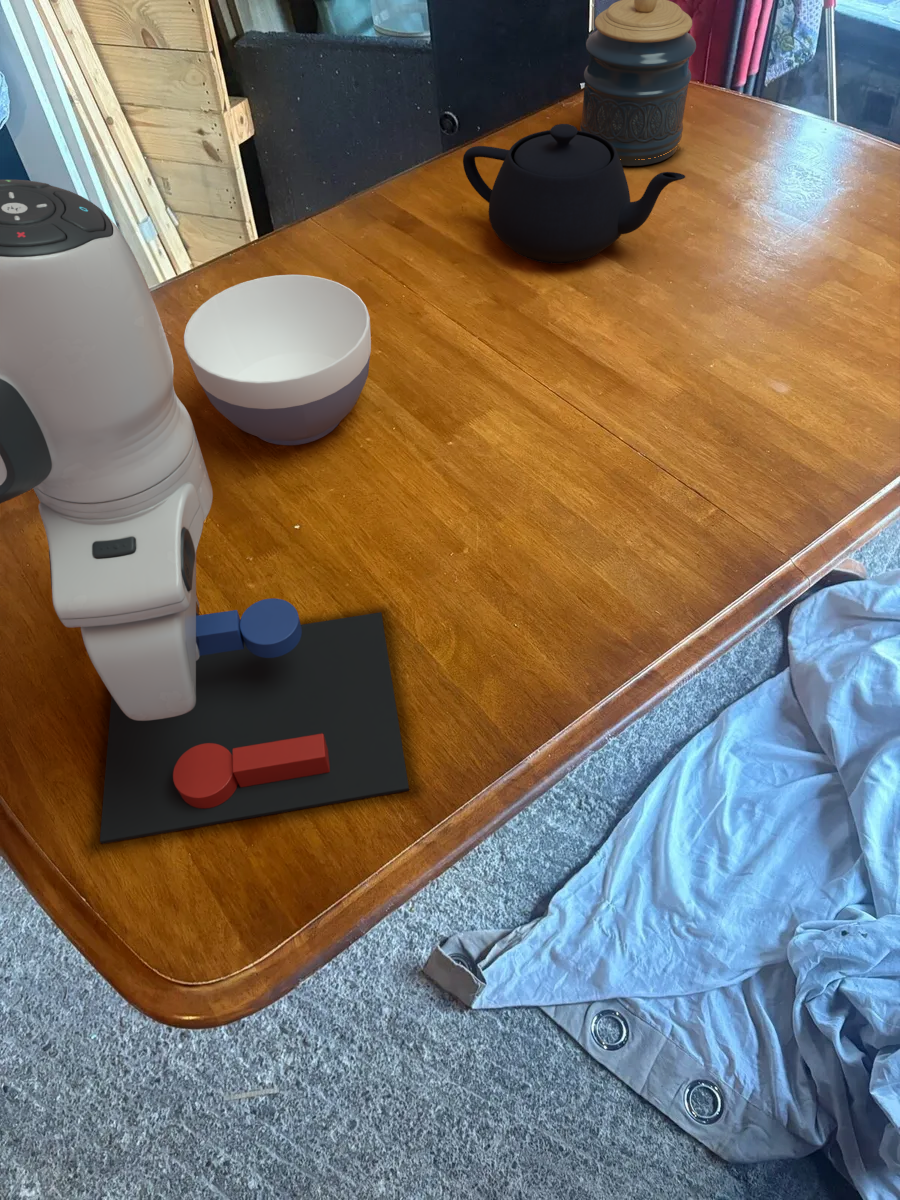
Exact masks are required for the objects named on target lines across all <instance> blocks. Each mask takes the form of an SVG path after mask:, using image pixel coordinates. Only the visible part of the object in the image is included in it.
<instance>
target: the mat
mask: <svg viewBox="0 0 900 1200" xmlns="http://www.w3.org/2000/svg"><path fill="white" fill-rule="evenodd" d="M301 628H302V635H301V638H300V641H299V642H298V644H297V645H296V646H295V648H294V649H292V650H291V651H290V652H288V653H286V654H284V655H282V656H279V657H274V658H264V657H259V656H257V655H255V654H253V653H252V652H250V651H249V650H248V649H247V647H246V645H245V643H244V649H241V650H235V651H228V652H221V653H215V654H208V655H201V656H199V659H198V660H197V661H196V704H195V707H194V708H193V709H192V710H191V711H189V712H187V713H185V714H182V715H179V716H175V717H169V718H164V719H157V720H148V721H138V720H133V719H131V718H129V717H128V716H126V715H125V714H124V712H123V711H122V710H121V709H120V707H119V706H118V704H117V703H116V701H115V700H114V698H113V697H112V696H111V699H110V711H109V723H108V736H107V747H106V748H107V749H106V760H105V761H106V762H105V773H104V783H103V784H104V785H103V796H102V797H103V798H102V808H101V822H100V833H99V834H100V835H99V843H101V844H102V845H103V844H109V843H114V842H115V843H116V842H121V841H126V840H131V839H138V838H143V837H150V836H155V835H161V834H167V833H172V832H173V833H174V832H178V831H183V830H185V831H186V830H190V829H195V828H202V827H207V826H213V825H218V824H219V825H220V824H225V823H230V822H235V821H242V820H248V819H252V818H260V817H265V816H270V815H277V814H283V813H287V812H293V811H299V810H300V811H301V810H305V809H310V808H316V807H317V808H318V807H322V806H327V805H328V806H329V805H335V804H341V803H345V802H350V801H357V800H364V799H368V798H375V797H380V796H385V795H392V794H397V793H398V794H399V793H403V792H409V791H410V786H409V781H408V774H407V773H408V772H407V768H406V767H407V766H406V762H405V754H404V747H403V741H402V735H401V730H400V729H401V728H400V723H399V717H398V716H399V715H398V709H397V702H396V697H395V690H394V685H393V679H392V678H393V677H392V673H391V666H390V660H389V653H388V647H387V640H386V633H385V627H384V620H383V615H382V612H381V611H379V612H374V613H367V614H361V615H360V614H359V615H355V616H347V617H341V618H334V619H329V620H323V621H317V622H310V623H303V624H301ZM316 734H324V738H325V741H326V745H327V748H328V755H329V765H330V772H328V773H322V774H317V775H311V776H305V777H299V778H293V779H287V780H281V781H275V782H270V783H264V784H258V785H252V786H246V787H240V786H239V784H238V786H237V788H236V790H235V792H234V793H233V794H232V796H231V797H230V798H229V799H228V800H226V801H225V802H223V803H222V804H220V805H218V806H215V807H212V808H196V807H193V806H191V805H189V804H188V803H186V802H185V801H184V799H183V798H182V796H181V795H180V793H179V791H178V790H177V788H176V786H175V784H174V781H173V771H174V767H175V765H176V763H177V761H178V760H179V758H180V757H181V756H182V755H183V754H184V753H185V752H186V751H188V750H189V749H191V748H192V747H194V746H197V745H200V744H205V743H214V744H218V745H221V746H223V747H225V748H226V749H228V750H229V752H230V753H231V754H232V750H233V748H238V747H244V746H250V745H256V744H262V743H268V742H274V741H280V740H286V739H292V738H298V737H304V736H310V735H316ZM232 756H233V754H232Z"/></svg>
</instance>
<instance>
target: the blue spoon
mask: <svg viewBox="0 0 900 1200" xmlns="http://www.w3.org/2000/svg"><path fill="white" fill-rule="evenodd" d="M301 625H302V624H301V620H300V616H299V613H298V610H297V609H296V607H295V606H294V605H293V604H292V603H291V602H289V601H287V600H285V599H283V598H282V599H281V598H275V597H273V598H272V597H271V598H265V599H261V600H258V601H256V602H254V603H253V604H251V605H250V606H248V607H247V608H246V609H245V610H244V611H243V613H242V615H241V617H240V614H239V611H238V609H233V610H232V609H231V610H225V611H219V612H213V613H212V612H211V613H206V614H199V615H198V616H196V633H197V637H198V639H199V656H201V655H208V654H215V653H221V652H228V651H235V650H241V649H244V643H245V645H246V647H247V649H248V650H249V651H250V652H252V653H253V654H255V655H257V656H259V657H264V658H274V657H279V656H282V655H284V654H286V653H288V652H290V651H291V650H292V649H294V648H295V646H296V645H297V644H298V642H299V641H300V638H301V635H302V628H301Z"/></svg>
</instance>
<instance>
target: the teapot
mask: <svg viewBox="0 0 900 1200" xmlns="http://www.w3.org/2000/svg"><path fill="white" fill-rule="evenodd" d="M476 158H484V159H485V158H486V159H492V160H498V161H503V162H502V164H501V166H500V168H499V171H498V173H497V174H496V175H497V176H496V177H495V181H494V183H493V186H492V188H491V187H490V186H489V185H488V184H487V183H486V182H485V181H484V179H483V178H482V176H481V174H480V172H479V169H478V167H477V165H476ZM462 166H463V170H464V173H465V175H466V178H467V180H468V182H469V183H470V185H471V186H472V188H473V189H474V190H475V192H476V193H477V194H478V195H479V196H480V197H481V198H483V200H485V202H487V203H488V218H489V219H488V220H489V222H490V226H491V228H492V230H493V232H494V234H495V235H496V236H497V237H498V239H499V240H500V241H501V242H502V243H504V244H505V245H506V246H507V247H509V248H510V249H511V250H512V251H513V252H515V253H516V254H518V255H519V256H521V257H523V258H526V259H528V260H531V261H533V262H538V263H544V264H554V265H556V264H557V265H561V264H563V265H564V264H575V263H578V262H582V261H585V260H588V259H591V258H593V257H594V256H596V255H598V254H600V253H602V251H604V250H606V249H607V248H608V247H610V246H611V245H612V244H613V243H615V242H616V241H617V240H618V239H619V238H620V236H621V235H626V234H630V233H632V232H634V231H636V230H638V229H639V228H640V227H641V226H643V225H644V224H645V222H646V221H647V220H648V218H649V217H650V215H651V214H652V211H653V210H654V207H655V205H656V202H657V200H658V199H659V196H660V194H661V193H662V191H663V190H664V189H665V188H666V187H667V186H668V185H669V184H672V183H674V182H677V181H680V180H683V179H685V178H686V175H685V174H683V173H681V172H680V173H679V172H674V171H663V172H659V173H658V174H656V175H655V176H654V177H653V178H652V179H651V180H650V181H649V183H648V185H647V186H646V188H645V190H644V193H643V194H642V196H641V198H639V199H638V200H636V201H631V195H630V188H629V184H628V181H627V177H626V174H625V171H624V168H623V167H624V166H622V164H621V162H620V159H619V156H618V153H617V151H616V149H615V148H614V146H613V145H612V144H611V143H610V142H609V141H607V140H606V139H604V138H602V137H600V136H597V135H595V134H592V133H588V132H583V131H580V130H578V128H577V127H576V126H574V125H573V124H569V123H559V124H555V125H553V126H552V127H551V128H550V129H549V130H548V129H547V130H543V131H542V130H541V131H538V132H534V133H531V134H527V135H526V136H523V137H522V138H520V139H519V140H517V141H516V142H515V143H513V145H512V146H511V147H510V148H509V149H507V148H500V147H495V146H486V145H477V146H476V145H475V146H471V147H469V148H468V149H467V150H466V151H465V152H464V154H463V156H462Z"/></svg>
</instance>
